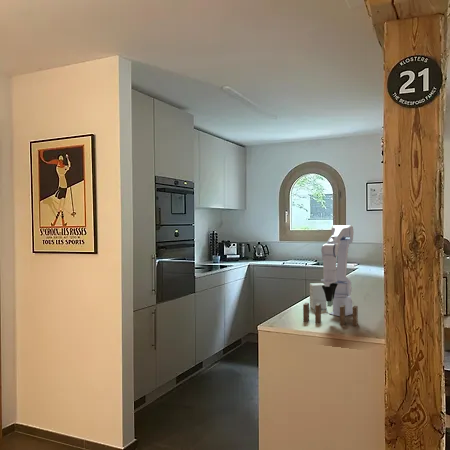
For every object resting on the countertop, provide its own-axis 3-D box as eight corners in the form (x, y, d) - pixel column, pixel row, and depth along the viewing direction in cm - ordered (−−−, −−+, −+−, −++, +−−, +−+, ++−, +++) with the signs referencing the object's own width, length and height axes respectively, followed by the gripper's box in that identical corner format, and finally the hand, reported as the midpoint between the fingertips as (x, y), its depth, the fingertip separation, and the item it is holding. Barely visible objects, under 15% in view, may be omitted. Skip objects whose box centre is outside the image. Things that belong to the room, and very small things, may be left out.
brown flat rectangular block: (352, 325, 205) (352, 307, 205) (354, 323, 210) (353, 305, 210) (356, 326, 205) (356, 307, 205) (357, 323, 209) (357, 305, 209)
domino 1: (303, 321, 214) (303, 304, 214) (305, 319, 218) (305, 302, 218) (306, 322, 213) (306, 304, 213) (309, 319, 218) (309, 302, 218)
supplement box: (323, 306, 249) (323, 282, 248) (326, 309, 241) (326, 284, 241) (309, 306, 248) (309, 283, 248) (312, 309, 241) (312, 285, 241)
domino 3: (327, 306, 209) (327, 288, 209) (329, 304, 214) (329, 287, 214) (330, 306, 209) (330, 288, 209) (332, 304, 213) (332, 287, 213)
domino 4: (339, 324, 207) (339, 306, 207) (341, 322, 212) (341, 304, 212) (343, 325, 207) (343, 307, 207) (345, 322, 211) (345, 305, 211)
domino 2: (315, 322, 212) (315, 305, 212) (317, 320, 216) (317, 303, 216) (318, 323, 211) (318, 305, 211) (321, 320, 216) (320, 303, 215)
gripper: (324, 268, 219) (324, 296, 220) (317, 271, 206) (317, 302, 206) (339, 268, 216) (339, 297, 217) (333, 272, 203) (334, 303, 203)
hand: (330, 300), depth 211 cm, fingers closed on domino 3, 5 cm apart
